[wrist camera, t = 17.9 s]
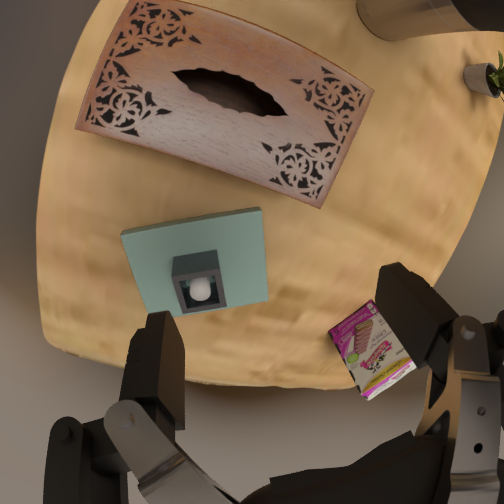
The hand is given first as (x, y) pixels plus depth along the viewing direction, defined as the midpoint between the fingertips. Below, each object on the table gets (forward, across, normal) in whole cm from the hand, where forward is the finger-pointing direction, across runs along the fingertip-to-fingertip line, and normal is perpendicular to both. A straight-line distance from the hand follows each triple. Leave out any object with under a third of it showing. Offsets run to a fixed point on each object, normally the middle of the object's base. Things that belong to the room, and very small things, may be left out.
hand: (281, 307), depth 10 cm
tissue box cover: (+28, 0, -8) cm, 29 cm away
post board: (+27, +7, +14) cm, 31 cm away
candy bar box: (+28, -20, +34) cm, 48 cm away
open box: (+25, +7, +14) cm, 30 cm away
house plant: (+29, -48, -14) cm, 58 cm away
